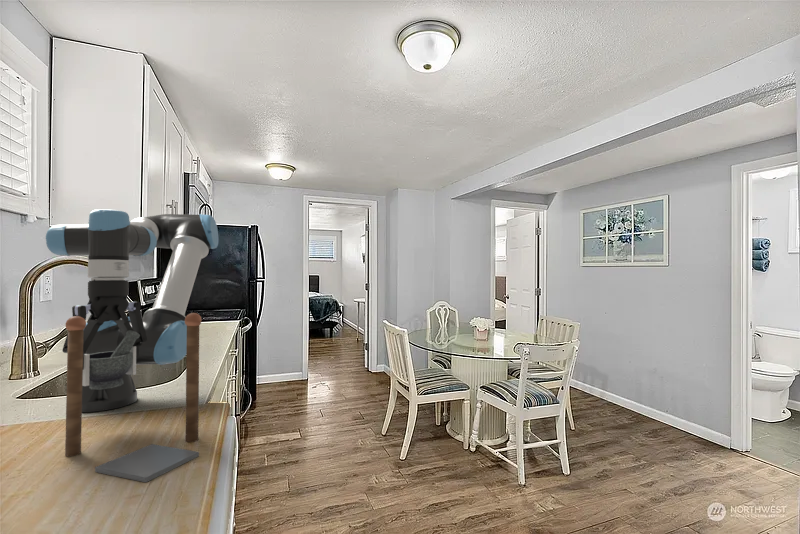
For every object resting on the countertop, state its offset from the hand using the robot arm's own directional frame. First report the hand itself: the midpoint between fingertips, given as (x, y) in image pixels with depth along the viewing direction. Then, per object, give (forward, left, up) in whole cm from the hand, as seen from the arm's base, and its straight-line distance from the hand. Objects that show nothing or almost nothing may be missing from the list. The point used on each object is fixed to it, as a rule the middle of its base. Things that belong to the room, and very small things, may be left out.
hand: (107, 379), depth 93 cm
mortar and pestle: (-1, 0, -2) cm, 2 cm away
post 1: (+11, +6, -11) cm, 17 cm away
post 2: (-2, +22, -11) cm, 25 cm away
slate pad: (+9, +24, -11) cm, 28 cm away
